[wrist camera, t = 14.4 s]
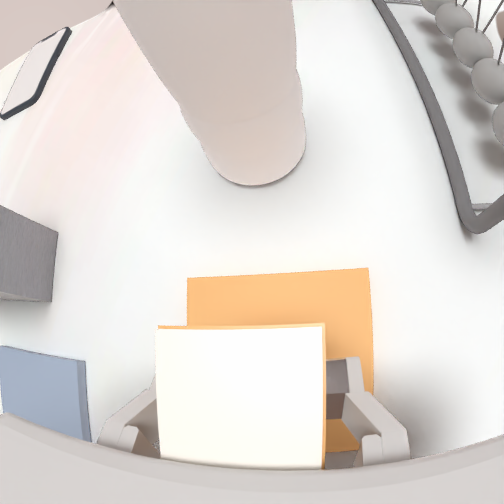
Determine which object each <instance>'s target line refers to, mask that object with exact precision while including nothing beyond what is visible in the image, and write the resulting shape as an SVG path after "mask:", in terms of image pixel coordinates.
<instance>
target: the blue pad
mask: <svg viewBox="0 0 504 504" xmlns="http://www.w3.org/2000/svg"><path fill="white" fill-rule="evenodd" d="M0 386H1V397H2V406H3V413H6V412H9V413H12V414H15V415H17V416H19V417H21V418H24V419H26V420H29V421H31V422H33V423H36V424H38V425H41V426H44V427H46V428H49V429H52V430H54V431H57V432H60V433H63V434H66V435H69V436H72V437H75V438H78V439H81V440H84V441H88V442H91V436H90V427H89V417H88V406H87V392H86V374H85V361H80V360H74V359H68V358H62V357H56V356H51V355H46V354H40V353H36V352H31V351H26V350H21V349H17V348H13V347H8V346H0Z"/></svg>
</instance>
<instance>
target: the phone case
mask: <svg viewBox="0 0 504 504" xmlns="http://www.w3.org/2000/svg"><path fill="white" fill-rule="evenodd" d="M71 33H72V31H71V30H70V28H69V27H65V28H63V29H61V30H59V31H57V32H55V33H54V34H52V35H50V36H48V37H47V38H45V39H43V40H42V41H40V42H38V43H37V44H36V45H34V46H33V48H32V49H31V51H30V52H29V54H28V56H27V58H26V60H25V62H24V63H23V65H22V67H21V69H20V71H19V73H18V75H17V77H16V79H15V81H14V83H13V86H12V88H11V90H10V92H9V94H8V96H7V99H6V101H5V103H4V106H3V108H2V110H1V113H0V118H2V119H3V120H6V119H8V118H10V117H11V116H13V115H15V114H17V113H19V112H20V111H22V110H24V109H26V108H28V107H30V106H32V105H33V104H34V103H36V101H37V100H38V99H39V98H40V96H41V94H42V91H43V89H44V87H45V84H46V82H47V80H48V78H49V76H50V74H51V72H52V69H53V67H54V65H55V63H56V61H57V59H58V57H59V55H60V53H61V51H62V50H63V48H64V46H65V44H66V42H67V40H68V38H69V36H70V35H71Z"/></svg>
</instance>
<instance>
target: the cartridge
mask: <svg viewBox="0 0 504 504" xmlns="http://www.w3.org/2000/svg"><path fill="white" fill-rule="evenodd" d="M155 367H156V395H157V415H158V430H159V443H160V454H161V459H163V460H168V461H174V462H181V463H187V464H195V465H202V466H211V467H221V468H233V469H248V470H276V471H298V470H324V468H325V440H326V347H325V323H310V324H289V325H260V326H158V329H155Z"/></svg>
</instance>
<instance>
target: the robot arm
mask: <svg viewBox="0 0 504 504" xmlns="http://www.w3.org/2000/svg"><path fill="white" fill-rule="evenodd" d="M326 419H342V421H343V423H344V424H345V425H346V427H347V428H348V429H349V431H350V432H351V433H352V435H353V436H354V437H355V439H356V440H357V441H358V443H359V444H360V446H359V449H358V452H357V455H356V458H355V461H354V463H353V465H354V467H352V468H341V469H326V470H298V471H276V470H248V469H233V468H221V467H211V466H202V465H195V464H187V463H181V462H174V461H168V460H163V459H160V458H161V455H160V453H159V452H158V451H157V450H156V449H155V448H154V446H153V444H154V443H155V442H156V441H157V440H158V439H159V430H158V415H157V395H156V373H155V376H154V378H153V381H152V383H151V386H150V388H149V390H148V389H146V390H144V391H143V392H142V393H141V394H139V395H138V396H137V397H135V398H134V399H133V400H132V401H130V402H129V403H128V404H126V405H125V406H124V407H123V408H121V409H120V410H119V411H117V412H116V413H115V414H114V415H112V416H111V417H110V418H108V419H107V420H106V422H105V424H104V427H103V429H102V432H101V434H100V436H99V439H98V441H97V443H96V444H94V443H91V442H88V441H84V440H81V439H78V438H75V437H72V436H69V435H66V434H63V433H60V432H57V431H54V430H52V429H49V428H46V427H44V426H41V425H38V424H36V423H33V422H31V421H29V420H26V419H24V418H21V417H19V416H17V415H15V414H12V413H9V412H6V413H3V414H1V415H0V504H504V434H503V435H500V436H497V437H494V438H491V439H488V440H485V441H482V442H479V443H475V444H472V445H469V446H465V447H462V448H458V449H454V450H450V451H446V452H442V453H438V454H434V455H429V456H425V457H420V458H415V459H411V455H410V448H409V442H408V436H407V430H406V428H405V427H404V426H403V425H402V424H401V423H400V422H399V421H398V420H397V419H396V418H395V417H394V416H393V415H392V414H391V413H390V412H389V411H388V410H387V409H386V408H385V407H384V406H383V405H382V404H381V403H380V402H379V401H378V400H377V399H376V398H375V397H374V396H373V395H372V394H371V393H370V392H369V391H365V390H364V383H363V376H362V369H361V363H360V358H359V356H357V357H346V358H345V357H342V358H329V359H326Z"/></svg>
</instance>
